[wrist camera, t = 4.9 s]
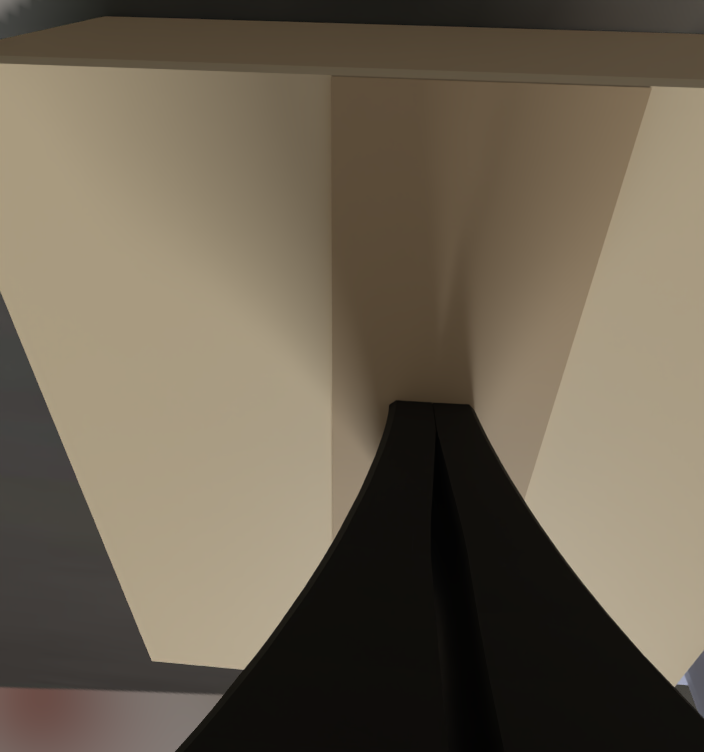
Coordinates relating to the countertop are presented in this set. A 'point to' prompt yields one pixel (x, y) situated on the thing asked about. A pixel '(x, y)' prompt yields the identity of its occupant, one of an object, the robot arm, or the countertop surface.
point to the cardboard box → (371, 46)
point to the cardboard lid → (359, 317)
